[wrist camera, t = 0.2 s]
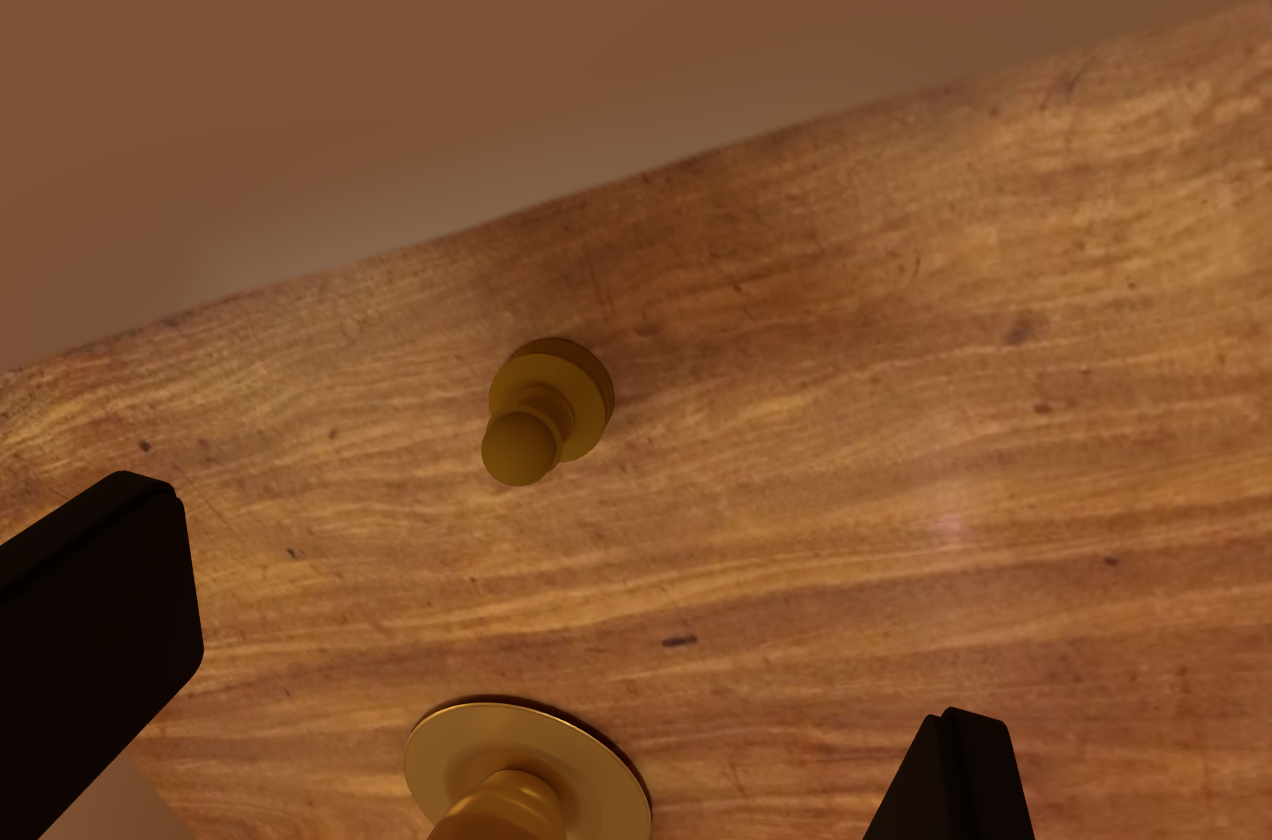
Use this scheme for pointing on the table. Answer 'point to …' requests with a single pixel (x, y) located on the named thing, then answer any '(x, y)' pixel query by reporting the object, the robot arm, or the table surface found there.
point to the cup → (520, 778)
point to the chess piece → (545, 410)
